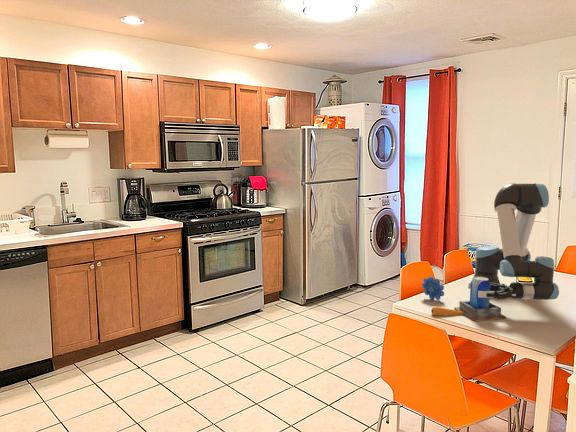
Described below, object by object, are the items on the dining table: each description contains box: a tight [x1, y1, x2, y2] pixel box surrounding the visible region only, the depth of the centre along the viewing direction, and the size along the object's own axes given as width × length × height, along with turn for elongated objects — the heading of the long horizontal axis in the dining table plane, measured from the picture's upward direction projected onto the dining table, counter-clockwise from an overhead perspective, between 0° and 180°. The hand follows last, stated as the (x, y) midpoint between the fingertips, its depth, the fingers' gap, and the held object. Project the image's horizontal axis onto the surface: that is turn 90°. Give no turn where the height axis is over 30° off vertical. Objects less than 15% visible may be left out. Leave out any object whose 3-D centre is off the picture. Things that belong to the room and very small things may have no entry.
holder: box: [453, 300, 507, 322], centre depth 208 cm, size 16×16×4 cm
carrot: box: [431, 306, 464, 317], centre depth 207 cm, size 20×4×4 cm, turn 93°
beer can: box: [469, 276, 491, 309], centre depth 207 cm, size 8×8×16 cm
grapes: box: [421, 275, 445, 301], centre depth 229 cm, size 12×7×12 cm, turn 55°
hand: (473, 289), depth 207 cm, fingers open, 13 cm apart
